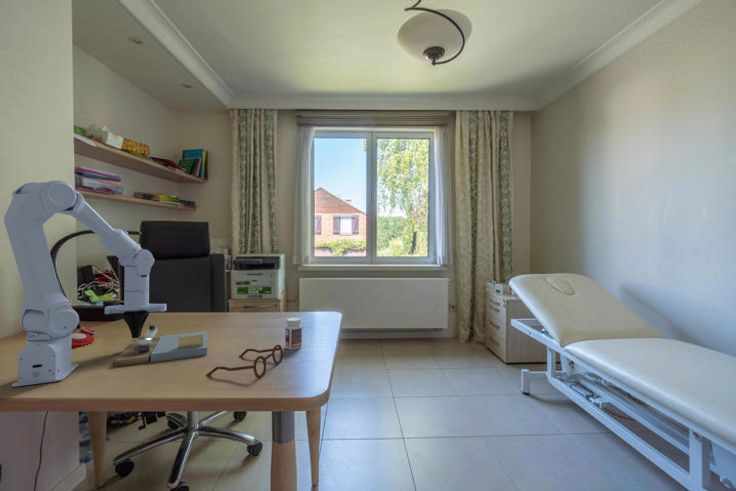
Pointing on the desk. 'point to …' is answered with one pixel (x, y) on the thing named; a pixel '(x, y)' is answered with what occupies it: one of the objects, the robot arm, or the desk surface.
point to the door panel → (170, 350)
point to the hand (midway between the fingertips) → (136, 337)
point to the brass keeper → (190, 341)
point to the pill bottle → (293, 334)
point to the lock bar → (147, 337)
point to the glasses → (255, 361)
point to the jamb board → (136, 354)
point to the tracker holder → (82, 337)
